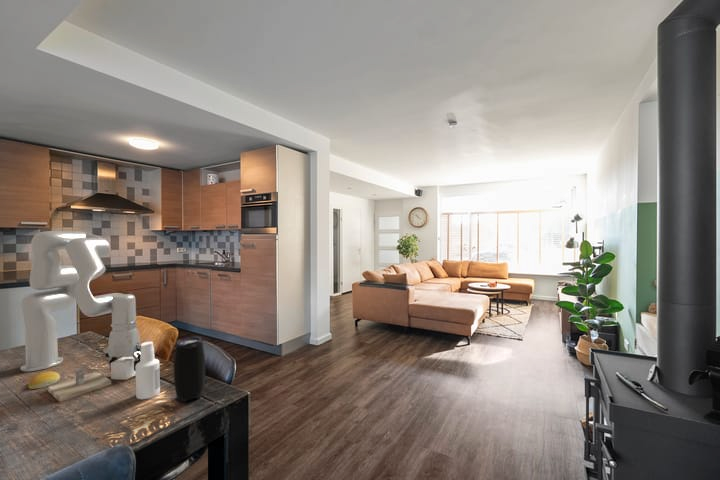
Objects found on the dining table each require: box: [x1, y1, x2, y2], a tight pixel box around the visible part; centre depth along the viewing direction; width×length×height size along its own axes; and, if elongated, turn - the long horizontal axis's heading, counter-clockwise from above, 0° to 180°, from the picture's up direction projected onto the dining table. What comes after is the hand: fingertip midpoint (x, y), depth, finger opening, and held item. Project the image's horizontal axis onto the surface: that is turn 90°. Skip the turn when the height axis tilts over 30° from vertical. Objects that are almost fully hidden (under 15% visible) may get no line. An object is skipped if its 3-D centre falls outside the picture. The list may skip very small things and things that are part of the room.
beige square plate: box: [47, 369, 112, 403], centre depth 112 cm, size 14×14×6 cm
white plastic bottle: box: [135, 341, 161, 400], centre depth 107 cm, size 7×7×18 cm
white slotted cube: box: [110, 356, 136, 381], centre depth 122 cm, size 6×6×6 cm
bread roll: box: [27, 370, 61, 390], centre depth 116 cm, size 8×9×4 cm
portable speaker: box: [173, 335, 206, 404], centre depth 105 cm, size 9×9×20 cm
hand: (126, 369), depth 122 cm, fingers open, 9 cm apart
